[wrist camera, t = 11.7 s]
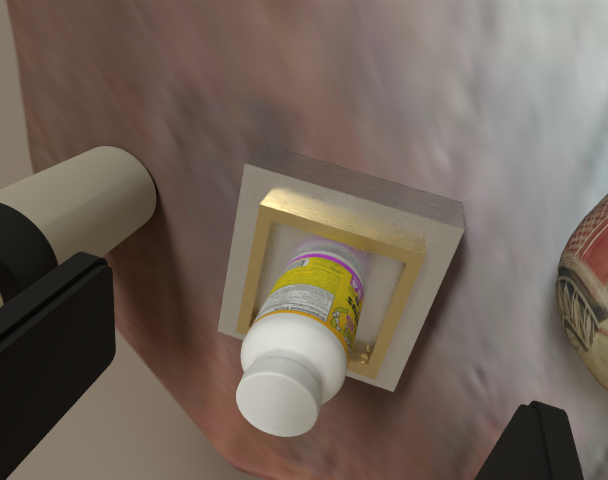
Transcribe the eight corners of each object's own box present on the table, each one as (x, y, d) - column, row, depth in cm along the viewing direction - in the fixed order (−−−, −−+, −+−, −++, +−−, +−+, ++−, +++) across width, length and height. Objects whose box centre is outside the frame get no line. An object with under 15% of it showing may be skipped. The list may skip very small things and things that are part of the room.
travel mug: (164, 163, 41) (1, 263, 26) (152, 238, 45) (5, 364, 30) (82, 132, 42) (-126, 211, 26) (78, 208, 46) (-105, 316, 30)
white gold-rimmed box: (461, 202, 37) (465, 239, 31) (391, 368, 45) (384, 421, 40) (266, 144, 38) (237, 169, 33) (235, 315, 47) (208, 358, 42)
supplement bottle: (355, 329, 38) (322, 465, 27) (277, 306, 39) (214, 429, 28) (375, 259, 35) (346, 381, 24) (289, 236, 36) (223, 344, 25)
